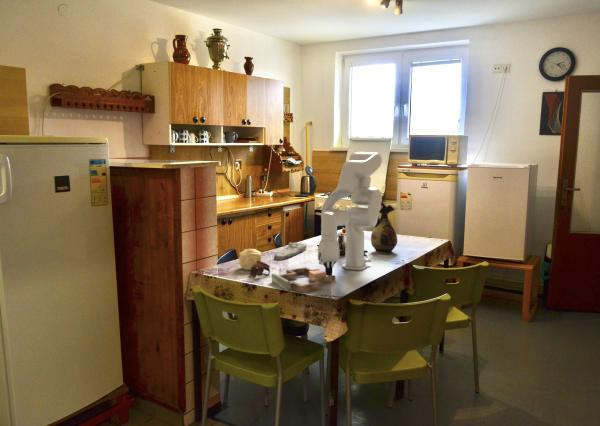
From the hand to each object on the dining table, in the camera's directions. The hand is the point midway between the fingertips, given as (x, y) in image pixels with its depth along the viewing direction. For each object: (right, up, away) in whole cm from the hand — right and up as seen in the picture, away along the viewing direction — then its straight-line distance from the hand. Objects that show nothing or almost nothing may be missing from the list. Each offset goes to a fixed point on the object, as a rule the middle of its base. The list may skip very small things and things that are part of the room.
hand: (328, 275), depth 237 cm
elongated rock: (-19, +6, +52) cm, 55 cm away
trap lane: (-12, -2, -6) cm, 13 cm away
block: (-5, -2, -3) cm, 7 cm away
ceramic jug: (+35, +6, +54) cm, 65 cm away
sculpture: (-39, +1, +18) cm, 43 cm away
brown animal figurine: (-33, -1, +5) cm, 34 cm away
